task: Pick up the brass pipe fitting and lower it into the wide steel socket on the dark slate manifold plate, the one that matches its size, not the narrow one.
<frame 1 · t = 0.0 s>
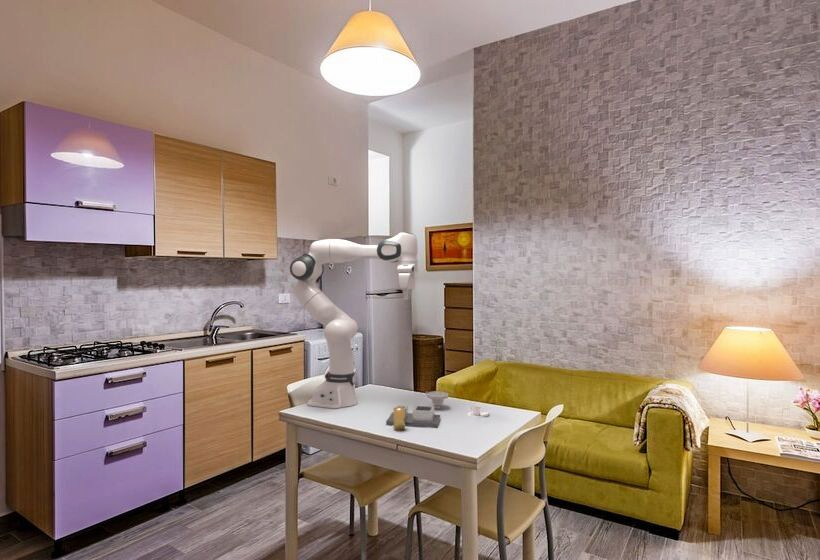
hand: (407, 299, 205), 48 cm above the table, tool pointing down, fingers open, 8 cm apart
teacup and saucer: (477, 418, 190), on the table
manifold: (413, 421, 184), on the table
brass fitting: (399, 429, 174), on the table
showerhead: (437, 408, 203), on the table
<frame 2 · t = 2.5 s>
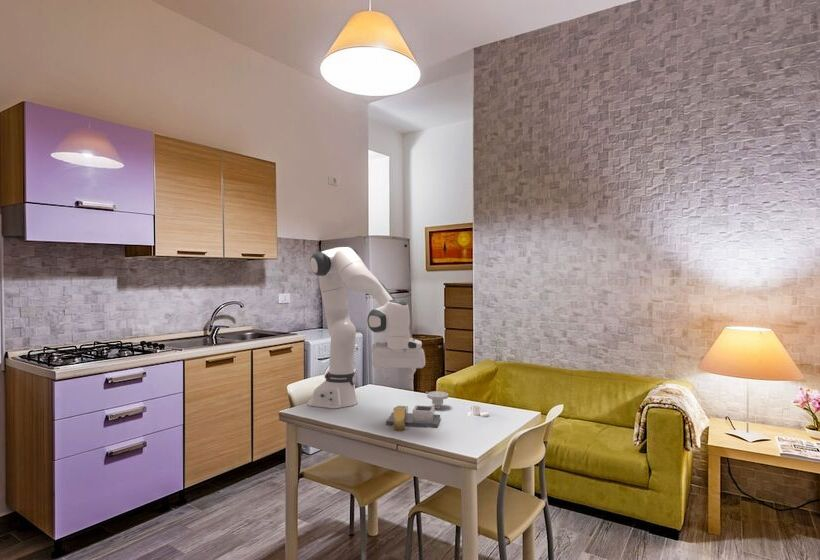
hand: (398, 379, 174), 19 cm above the table, tool pointing down, fingers open, 8 cm apart
nothing on the table moved.
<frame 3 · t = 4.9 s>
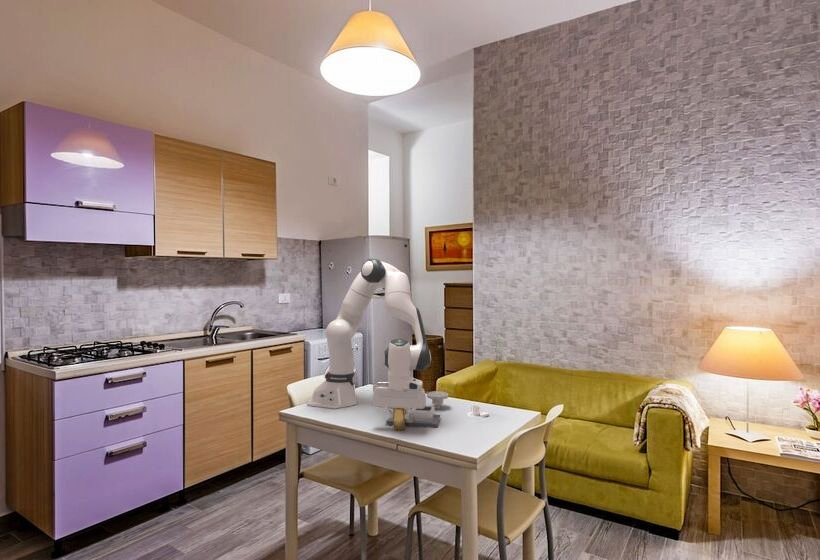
hand: (399, 418, 174), 4 cm above the table, tool pointing down, fingers closed on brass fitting, 4 cm apart
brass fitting: (399, 429, 174), on the table, touching gripper
everything else where it was.
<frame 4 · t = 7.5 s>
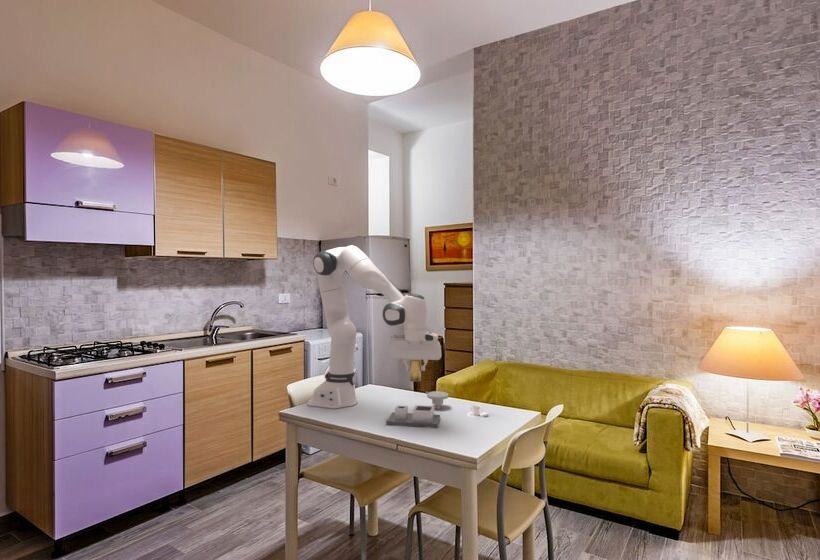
hand: (415, 370, 180), 21 cm above the table, tool pointing down, fingers closed on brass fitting, 4 cm apart
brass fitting: (415, 380, 180), point 17 cm above the table, touching gripper
everything else where it was.
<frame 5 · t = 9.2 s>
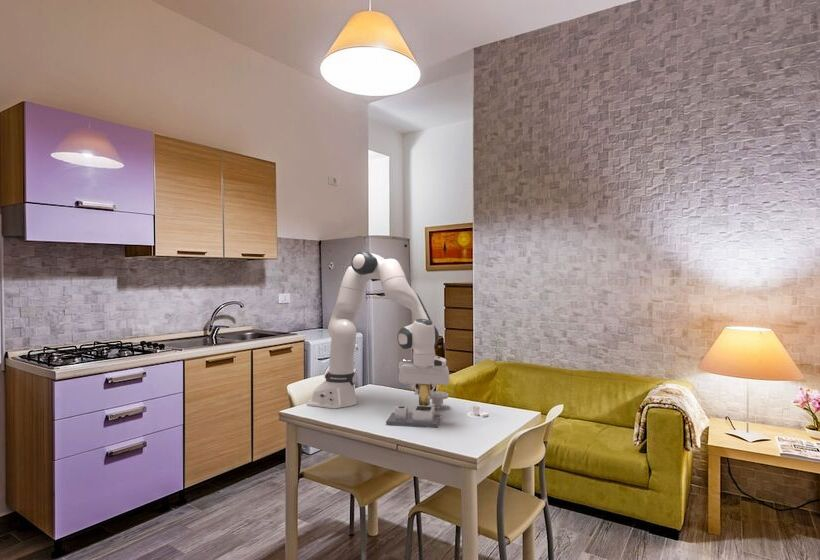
hand: (424, 394, 183), 11 cm above the table, tool pointing down, fingers closed on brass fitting, 4 cm apart
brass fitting: (424, 404, 183), point 7 cm above the table, touching gripper
everything else where it was.
when the fingers open (8 cm above the table, at t = 10.6 s): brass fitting drops 2 cm, resting on manifold.
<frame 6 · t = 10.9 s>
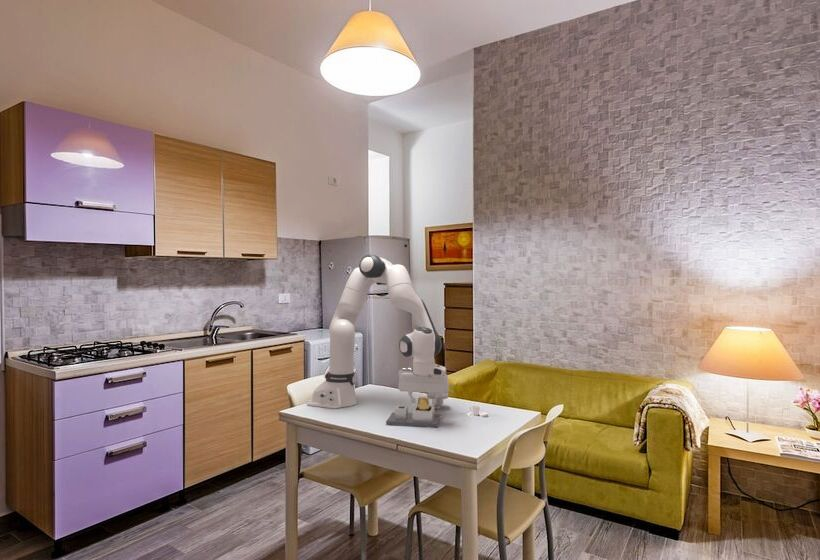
hand: (423, 403, 183), 8 cm above the table, tool pointing down, fingers open, 7 cm apart
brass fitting: (423, 418, 183), point 2 cm above the table, touching manifold
everything else where it was.
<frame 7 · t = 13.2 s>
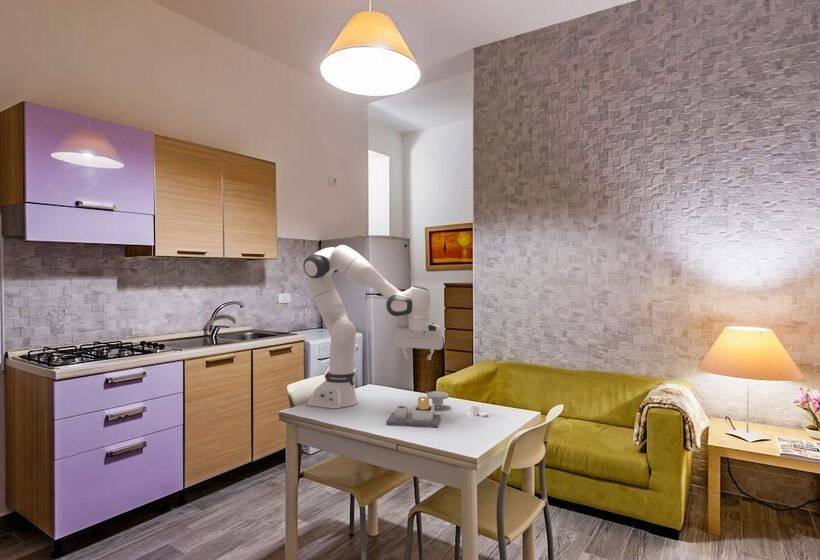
hand: (417, 359, 189), 24 cm above the table, tool pointing down, fingers open, 8 cm apart
nothing on the table moved.
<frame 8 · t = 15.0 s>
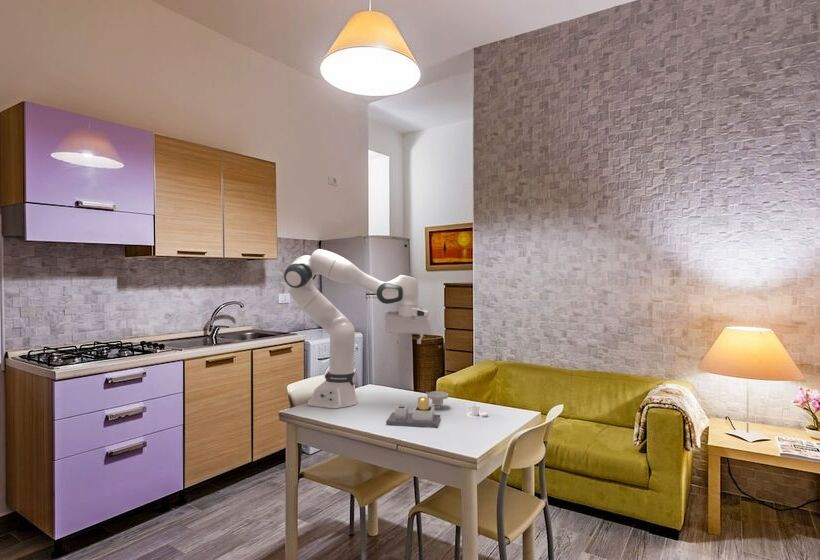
hand: (408, 343, 199), 29 cm above the table, tool pointing down, fingers open, 8 cm apart
nothing on the table moved.
at the end: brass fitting 0.1 cm from the target spot on the manifold, point 1.5 cm above the manifold's base; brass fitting tilted 0°; the gripper is holding nothing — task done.
